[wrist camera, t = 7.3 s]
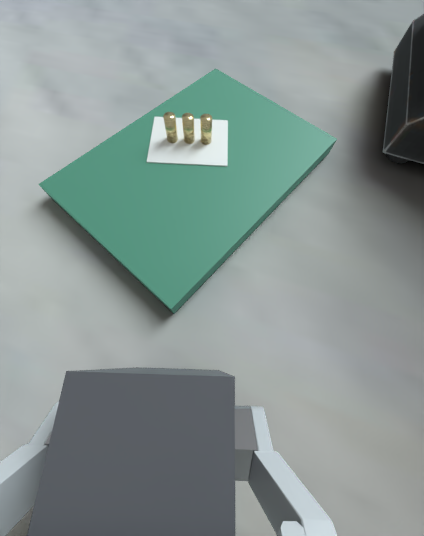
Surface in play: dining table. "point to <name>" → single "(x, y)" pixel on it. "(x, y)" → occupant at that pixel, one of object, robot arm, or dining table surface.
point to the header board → (189, 183)
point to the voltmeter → (407, 98)
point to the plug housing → (140, 455)
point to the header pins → (188, 128)
